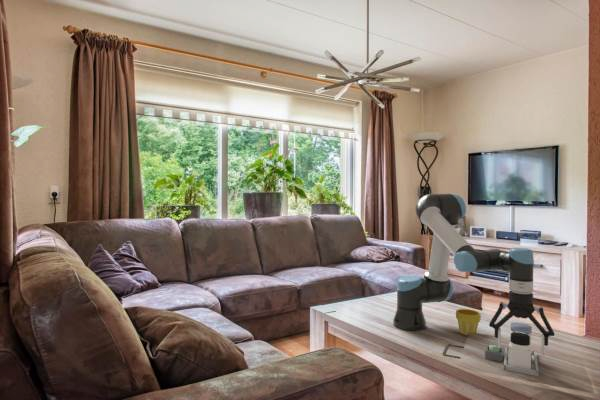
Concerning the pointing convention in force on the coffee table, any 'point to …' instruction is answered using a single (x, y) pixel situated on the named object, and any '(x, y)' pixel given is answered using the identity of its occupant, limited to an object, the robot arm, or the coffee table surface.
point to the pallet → (499, 357)
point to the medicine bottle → (520, 351)
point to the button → (494, 348)
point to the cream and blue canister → (521, 328)
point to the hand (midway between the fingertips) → (520, 350)
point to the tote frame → (446, 349)
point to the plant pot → (468, 320)
